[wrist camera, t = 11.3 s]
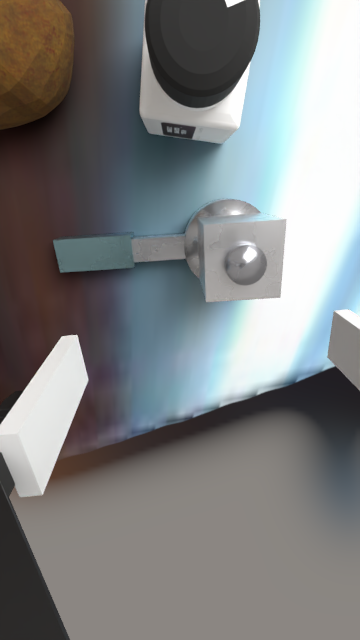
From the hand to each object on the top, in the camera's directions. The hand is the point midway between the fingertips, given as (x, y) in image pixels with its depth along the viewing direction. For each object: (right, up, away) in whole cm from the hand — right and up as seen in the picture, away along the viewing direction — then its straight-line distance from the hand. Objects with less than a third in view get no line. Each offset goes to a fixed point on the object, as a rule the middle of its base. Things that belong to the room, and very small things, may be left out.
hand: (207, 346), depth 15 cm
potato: (-15, +24, +12) cm, 31 cm away
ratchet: (-3, +10, +18) cm, 21 cm away
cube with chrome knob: (+4, +9, +15) cm, 18 cm away
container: (0, +23, +13) cm, 26 cm away
